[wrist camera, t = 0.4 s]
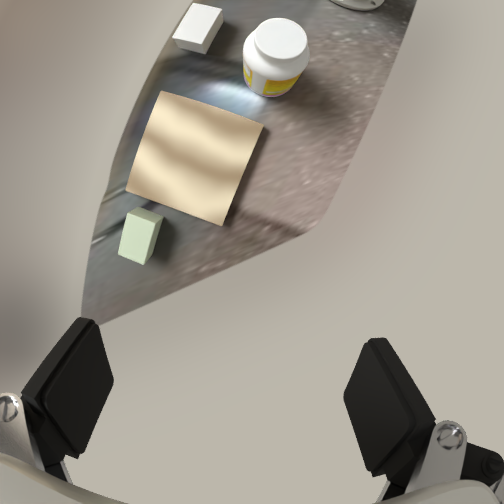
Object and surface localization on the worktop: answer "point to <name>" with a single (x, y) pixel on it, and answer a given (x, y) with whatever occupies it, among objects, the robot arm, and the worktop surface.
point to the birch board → (193, 156)
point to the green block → (140, 235)
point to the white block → (198, 28)
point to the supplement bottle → (275, 56)
